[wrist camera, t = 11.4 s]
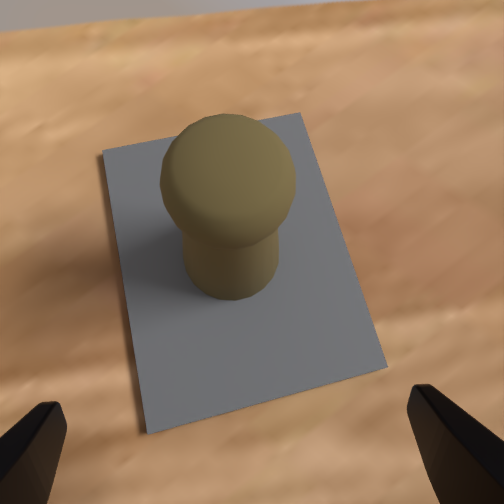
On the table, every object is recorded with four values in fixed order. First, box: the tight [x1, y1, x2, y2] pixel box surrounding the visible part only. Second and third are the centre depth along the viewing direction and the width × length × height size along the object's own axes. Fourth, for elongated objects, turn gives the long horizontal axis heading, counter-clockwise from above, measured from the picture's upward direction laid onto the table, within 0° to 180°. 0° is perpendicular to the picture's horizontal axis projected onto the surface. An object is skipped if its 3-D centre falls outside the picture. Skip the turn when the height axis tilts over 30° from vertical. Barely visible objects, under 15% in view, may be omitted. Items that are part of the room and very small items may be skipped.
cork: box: [159, 114, 296, 301], centre depth 18 cm, size 6×6×11 cm
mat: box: [102, 113, 388, 434], centre depth 23 cm, size 18×14×1 cm
